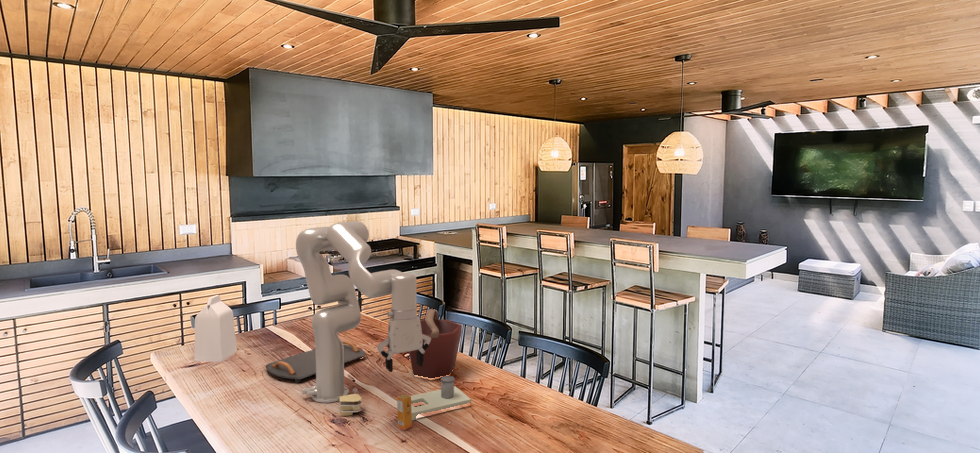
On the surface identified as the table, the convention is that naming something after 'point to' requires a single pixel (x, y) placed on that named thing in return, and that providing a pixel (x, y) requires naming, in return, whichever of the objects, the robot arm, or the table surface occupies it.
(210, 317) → the milk
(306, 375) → the serving board
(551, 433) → the table surface
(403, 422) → the supplement box
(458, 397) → the caddy
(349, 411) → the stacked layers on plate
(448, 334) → the bucket
